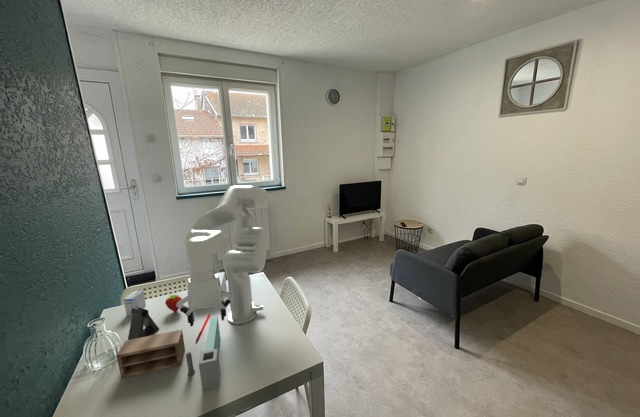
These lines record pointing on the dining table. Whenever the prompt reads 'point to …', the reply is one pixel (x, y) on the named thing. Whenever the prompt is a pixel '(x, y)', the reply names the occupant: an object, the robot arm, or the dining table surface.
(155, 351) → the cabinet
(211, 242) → the robot arm
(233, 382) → the dining table surface
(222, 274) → the supplement box
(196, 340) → the pen
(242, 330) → the dining table surface
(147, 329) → the phone stand
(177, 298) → the strawberry
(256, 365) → the dining table surface
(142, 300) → the medicine box
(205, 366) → the teal desk organizer
